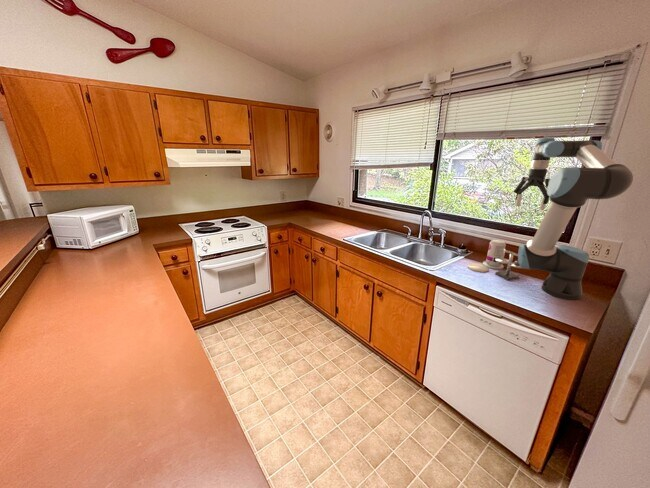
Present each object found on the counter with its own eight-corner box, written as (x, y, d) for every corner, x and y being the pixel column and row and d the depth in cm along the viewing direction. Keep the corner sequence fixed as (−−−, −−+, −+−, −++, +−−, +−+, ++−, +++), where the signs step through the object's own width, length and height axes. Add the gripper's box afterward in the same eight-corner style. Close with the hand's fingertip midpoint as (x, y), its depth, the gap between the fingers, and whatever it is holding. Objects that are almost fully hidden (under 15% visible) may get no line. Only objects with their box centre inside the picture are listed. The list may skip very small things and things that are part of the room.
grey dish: (507, 268, 161) (508, 266, 161) (493, 270, 158) (494, 269, 158) (491, 261, 171) (492, 260, 171) (478, 263, 168) (478, 262, 168)
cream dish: (492, 270, 158) (493, 269, 157) (478, 273, 154) (478, 271, 154) (477, 263, 168) (477, 262, 167) (463, 266, 164) (463, 264, 164)
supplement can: (484, 264, 164) (488, 241, 159) (487, 260, 170) (492, 238, 165) (499, 268, 159) (504, 244, 154) (502, 264, 165) (507, 241, 160)
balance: (525, 277, 149) (533, 248, 144) (500, 282, 144) (507, 252, 138) (512, 271, 157) (518, 244, 151) (487, 276, 151) (493, 247, 146)
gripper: (569, 169, 134) (558, 211, 141) (521, 167, 156) (513, 203, 163) (559, 169, 132) (548, 212, 138) (511, 167, 154) (503, 204, 161)
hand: (529, 207), depth 151 cm, fingers open, 13 cm apart
